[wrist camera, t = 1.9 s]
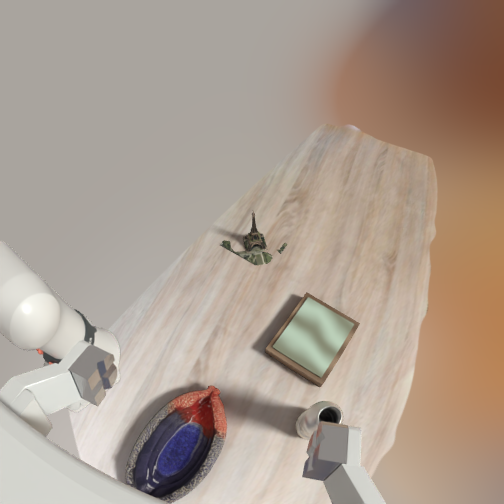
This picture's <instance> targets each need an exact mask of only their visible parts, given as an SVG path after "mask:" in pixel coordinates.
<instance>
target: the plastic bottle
mask: <svg viewBox="0 0 504 504" xmlns="http://www.w3.org/2000/svg"><path fill="white" fill-rule="evenodd" d="M343 418H344V417H343V412H342V410H341V409H340V407H339V406H338V405H336V404H335V403H333V402H329V401H321V402H318V403H315V404H314V405H312V406H311V407H310V408H309V409H308V410H307V411H305V412H303V413H302V414H301V415H300V416H299V417H298V419H297V421H296V431H297V433H298V434H299V436H300V437H302V438H303V439H306V440H310V438H311V436H312V434H313V432H314V431H316V430H317V428H318V425H319V423H320V422H321V421H324V422H330V423H336V424H343Z"/></svg>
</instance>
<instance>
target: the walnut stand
mask: <svg viewBox="0 0 504 504" xmlns="http://www.w3.org/2000/svg"><path fill="white" fill-rule="evenodd" d="M359 324H360V323H358V322H356V321H355V320H353V319H351V318H350V317H348V316H346V315H344V314H343V313H341V312H339V311H338V310H336V309H334V308H332V307H331V306H329V305H327V304H326V303H324V302H322V301H321V300H319V299H317V298H315V297H314V296H312V295H310V294H309V293H307V292H306V294H305V295H304V297H303V298H302V299H301V301H300V302H299V304H298V305H297V306H296V308H295V309H294V311H293V312H292V313H291V315H290V316H289V318H288V319H287V320H286V322H285V323H284V324H283V326H282V327H281V328H280V330H279V331H278V333H277V334H276V335H275V337H274V338H273V339H272V341H271V342H270V343H269V345H268V346H267V347H266V350H265V353H267V354H268V355H270V356H271V357H273V358H275V359H276V360H278V361H279V362H281V363H282V364H284V365H285V366H287V367H289V368H290V369H292V370H293V371H295V372H296V373H298V374H300V375H301V376H303V377H304V378H306V379H308V380H309V381H311V382H313V383H314V384H316V385H317V386H319V387H321V386H322V384H323V383H324V381H325V380H326V378H327V377H328V375H329V374H330V372H331V371H332V369H333V367H334V366H335V364H336V363H337V361H338V359H339V358H340V356H341V355H342V353H343V351H344V350H345V348H346V346H347V345H348V343H349V341H350V340H351V338H352V336H353V334H354V333H355V331H356V329H357V328H358V326H359Z"/></svg>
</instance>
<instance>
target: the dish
mask: <svg viewBox="0 0 504 504" xmlns="http://www.w3.org/2000/svg"><path fill="white" fill-rule="evenodd" d="M219 394H220V391H219V390H218V389H217V388H215V387H214V386H208V389H207V390H200V391H192V392H188V393H185V394H182V395H180V396H178V397H176V398H175V399H173V400H172V401H170V402H169V403H167V404H166V405H165V406H164V407H163V408H162V409H161V410H160V411H159V412H158V413H157V414H156V415H155V416H154V417H153V418H152V419H151V421H150V422H149V423H148V424H147V426H146V427H145V428H144V430H143V432H142V433H141V435H140V436H139V438H138V440H137V442H136V443H135V445H134V448H133V450H132V452H131V455H130V457H129V460H128V463H127V466H126V483H127V485H129V486H131V487H133V488H135V489H137V490H139V491H142V492H144V493H146V494H148V495H151V496H153V497H156V498H158V499H160V500H163V501H165V502H168V503H172V502H174V501H176V500H178V499H180V498H182V497H183V496H185V495H186V494H188V493H189V492H190V491H192V490H193V489H194V488H195V487H196V486H197V485H198V484H199V483H200V482H201V481H202V480H203V479H204V478H205V476H206V475H207V474H208V472H209V471H210V470H211V468H212V467H213V465H214V463H215V462H216V460H217V458H218V456H219V454H220V452H221V450H222V447H223V444H224V441H225V437H226V429H227V423H226V417H225V413H224V406H223V403H222V401H221V400H220V398H219V396H218V395H219Z"/></svg>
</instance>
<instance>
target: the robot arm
mask: <svg viewBox="0 0 504 504" xmlns="http://www.w3.org/2000/svg"><path fill="white" fill-rule="evenodd" d="M0 333H1V334H2V335H3V336H5V337H6V338H7V339H8V340H9V341H10V342H12V343H13V344H14V345H16V346H17V347H19V348H20V349H23V350H35V349H36V350H37V351H38V353H39V354H43V358H44V359H45V363H44V367H42V368H39V369H36V370H33V371H29V372H26V373H23V374H20V375H17V376H14V377H12V378H11V379H10V380H9V381H8V382H7V383H6V384H5V385H4V386H3V388H2V389H1V390H0V504H170V503H168V502H165V501H163V500H160V499H158V498H156V497H153V496H151V495H148V494H146V493H144V492H142V491H139V490H137V489H135V488H133V487H131V486H129V485H127V484H125V483H122V482H120V481H118V480H116V479H115V478H113V477H111V476H109V475H107V474H105V473H103V472H101V471H99V470H98V469H96V468H94V467H92V466H91V465H89V464H87V463H85V462H84V461H82V460H80V459H79V458H77V457H75V456H74V455H72V454H70V453H69V452H67V451H66V450H64V449H63V448H61V447H60V446H58V445H57V444H55V443H54V442H52V441H51V440H49V439H48V438H46V436H47V435H48V433H49V432H50V430H51V429H52V424H51V422H50V420H49V419H48V417H47V416H48V415H50V414H52V413H54V412H56V411H58V410H60V409H62V408H65V407H66V408H68V409H69V410H71V411H74V412H79V411H81V410H82V409H83V408H85V407H86V406H87V405H88V404H90V403H92V404H94V405H96V406H99V404H100V403H101V401H102V400H103V399H104V397H105V396H106V391H107V390H108V389H109V388H111V387H112V386H113V385H115V384H116V383H117V382H118V381H119V380H120V373H119V368H118V366H119V359H120V348H119V344H118V342H117V340H116V338H115V337H114V335H113V334H112V333H111V332H109V331H108V330H106V329H103V328H99V327H96V326H94V324H93V323H92V322H91V321H90V320H89V319H88V318H87V317H86V316H84V315H83V314H81V313H80V312H79V311H77V310H75V309H73V308H72V307H71V306H69V304H68V303H66V302H65V301H64V300H63V299H62V298H61V297H60V296H59V295H58V294H57V293H56V292H55V291H54V290H53V289H52V288H51V287H50V286H49V285H48V284H47V283H46V282H45V280H43V278H42V277H40V275H38V274H37V273H36V272H35V271H34V270H33V269H32V268H31V267H30V266H29V265H28V264H27V263H26V262H25V261H24V260H23V259H21V257H20V256H19V255H18V254H17V253H16V252H15V251H14V250H13V249H12V248H11V247H10V246H9V245H8V244H7V243H5V242H3V241H1V240H0ZM69 405H70V406H69ZM307 454H308V456H309V458H308V459H307V460H306V462H305V465H304V471H303V476H302V477H305V478H310V479H315V480H321V481H324V482H323V483H324V485H325V487H326V490H327V492H328V494H329V497H330V499H331V502H332V504H386V503H385V501H384V500H383V498H382V496H381V494H380V493H379V491H378V490H377V488H376V486H375V485H374V483H373V481H372V480H371V478H370V476H369V475H368V473H367V471H366V470H365V468H364V466H360V456H361V428H359V427H354V426H347V425H342V424H336V423H330V422H324V421H321V422H320V423H319V425H318V428H317V430H316V431H314V432H313V434H312V436H311V438H310V441H309V444H308V449H307Z"/></svg>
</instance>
